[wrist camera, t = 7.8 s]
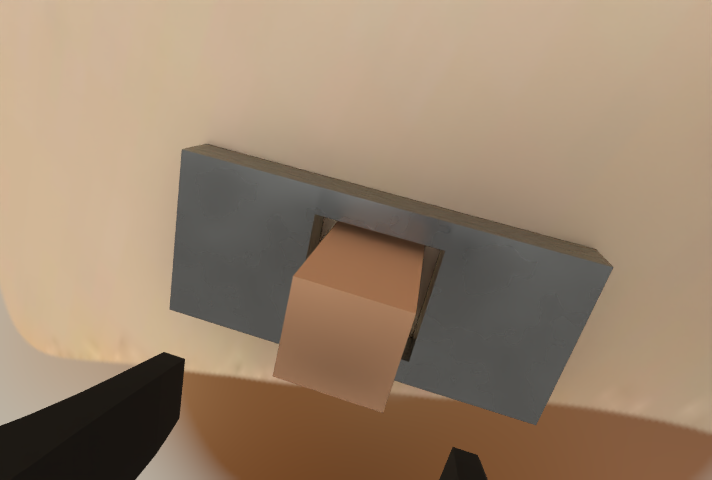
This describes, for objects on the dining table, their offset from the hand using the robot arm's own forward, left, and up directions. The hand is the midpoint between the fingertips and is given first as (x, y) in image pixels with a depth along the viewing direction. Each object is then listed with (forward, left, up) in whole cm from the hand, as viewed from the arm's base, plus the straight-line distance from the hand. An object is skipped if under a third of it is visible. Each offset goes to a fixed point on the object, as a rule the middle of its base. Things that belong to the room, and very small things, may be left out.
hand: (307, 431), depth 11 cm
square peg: (0, 0, -10) cm, 10 cm away
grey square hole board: (0, 0, -10) cm, 10 cm away
